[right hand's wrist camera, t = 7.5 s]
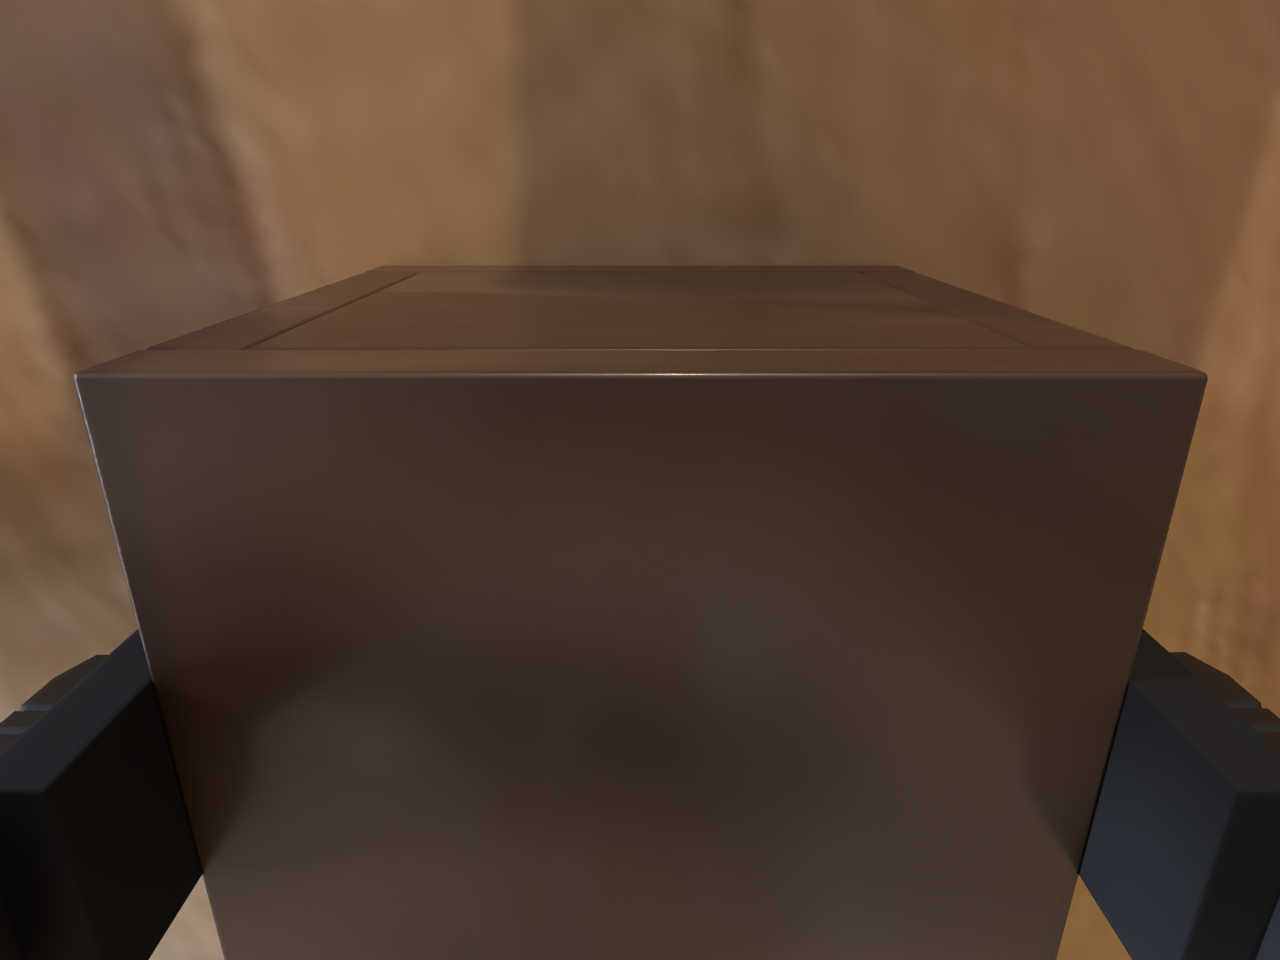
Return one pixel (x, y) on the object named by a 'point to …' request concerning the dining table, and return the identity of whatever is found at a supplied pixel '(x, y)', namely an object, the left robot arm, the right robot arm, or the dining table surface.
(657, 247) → the dining table surface
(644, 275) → the cabinet
